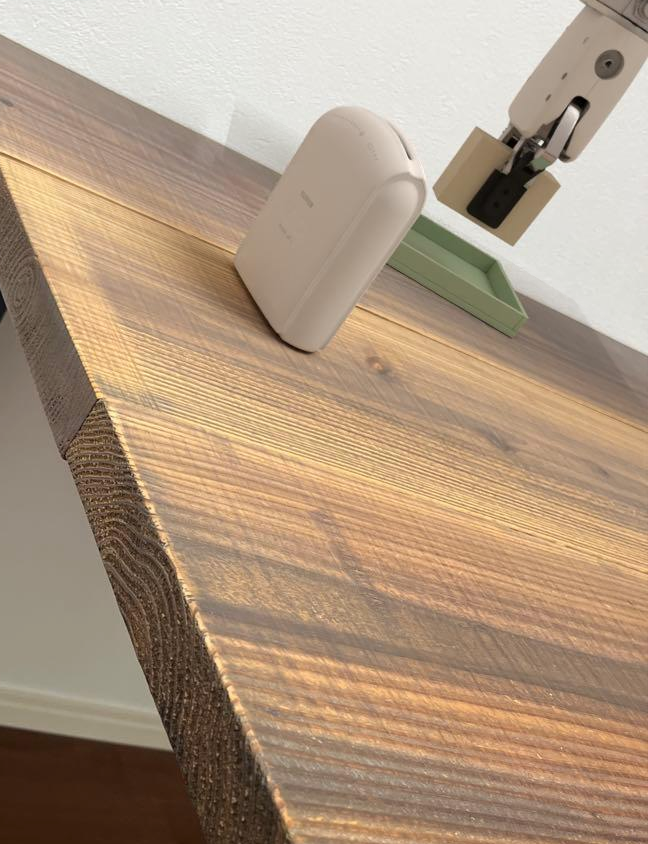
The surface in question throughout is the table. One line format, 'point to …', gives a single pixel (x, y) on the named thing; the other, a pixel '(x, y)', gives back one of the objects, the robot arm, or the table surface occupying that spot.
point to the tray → (459, 274)
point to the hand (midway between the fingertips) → (477, 210)
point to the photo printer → (331, 224)
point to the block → (471, 174)
